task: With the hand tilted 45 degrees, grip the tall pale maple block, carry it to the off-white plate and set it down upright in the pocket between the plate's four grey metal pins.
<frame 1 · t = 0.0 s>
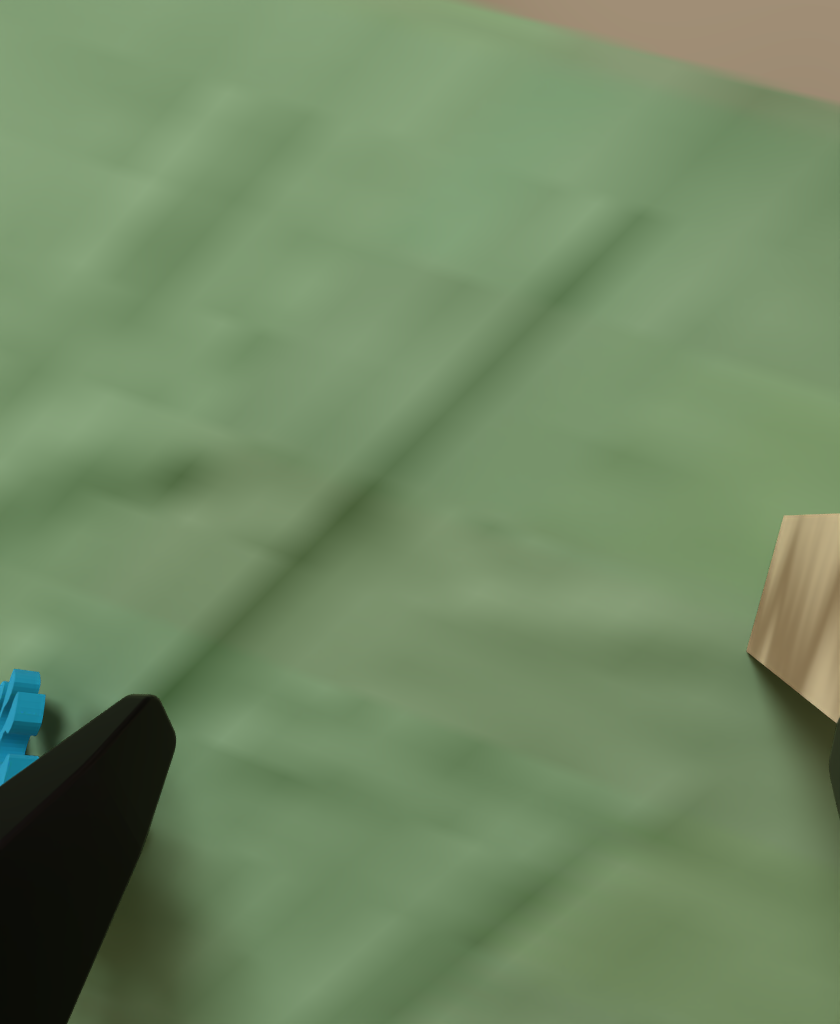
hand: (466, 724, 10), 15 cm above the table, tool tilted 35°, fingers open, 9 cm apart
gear: (63, 791, 28), on the table
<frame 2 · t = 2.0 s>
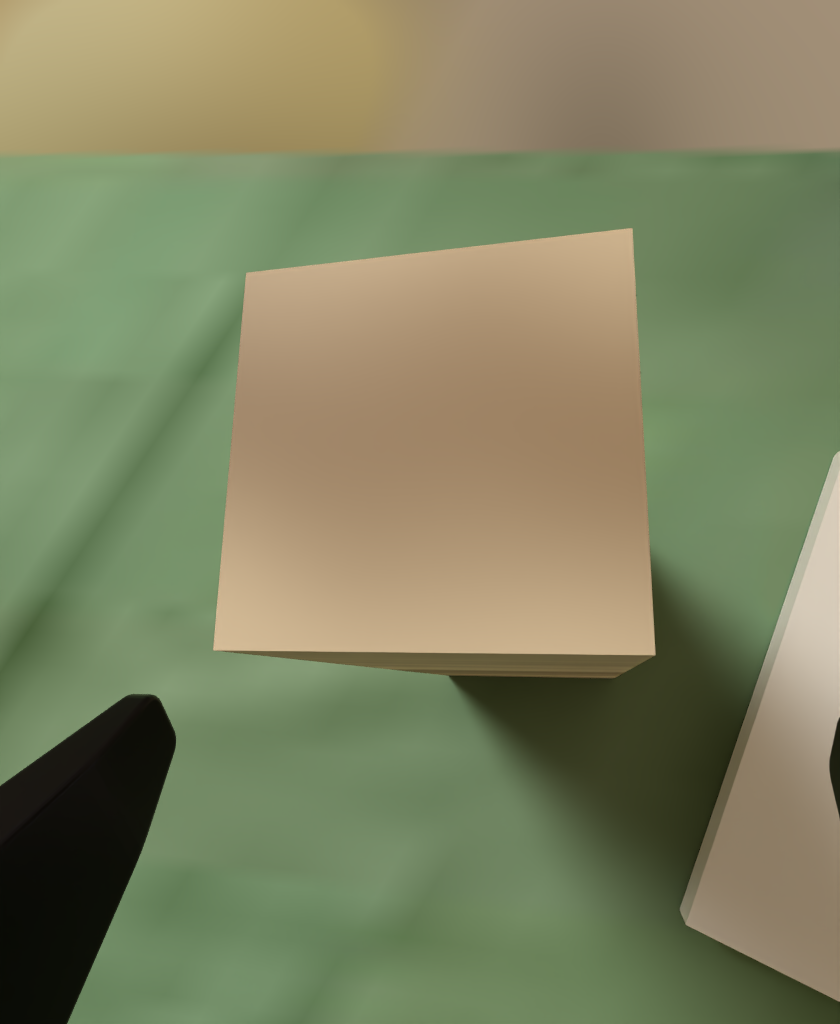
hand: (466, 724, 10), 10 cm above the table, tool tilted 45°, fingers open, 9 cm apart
maple block: (527, 594, 20), on the table
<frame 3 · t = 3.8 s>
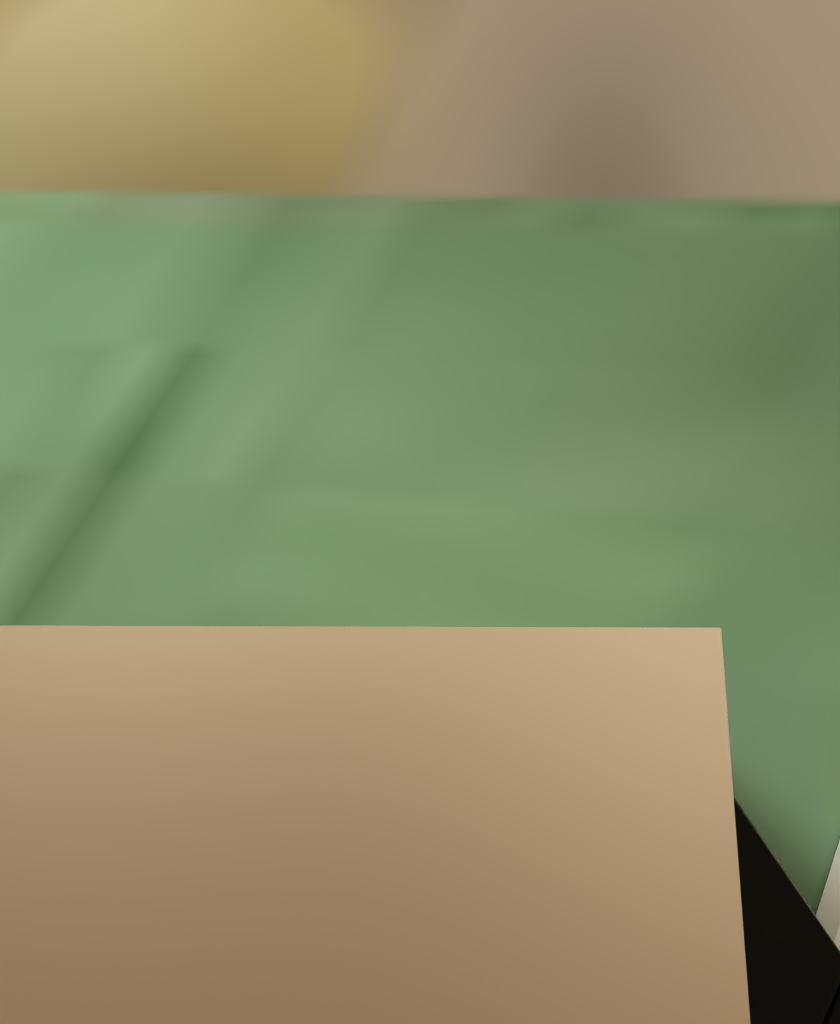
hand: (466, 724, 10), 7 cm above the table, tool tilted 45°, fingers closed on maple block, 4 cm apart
maple block: (516, 775, 16), on the table, touching gripper
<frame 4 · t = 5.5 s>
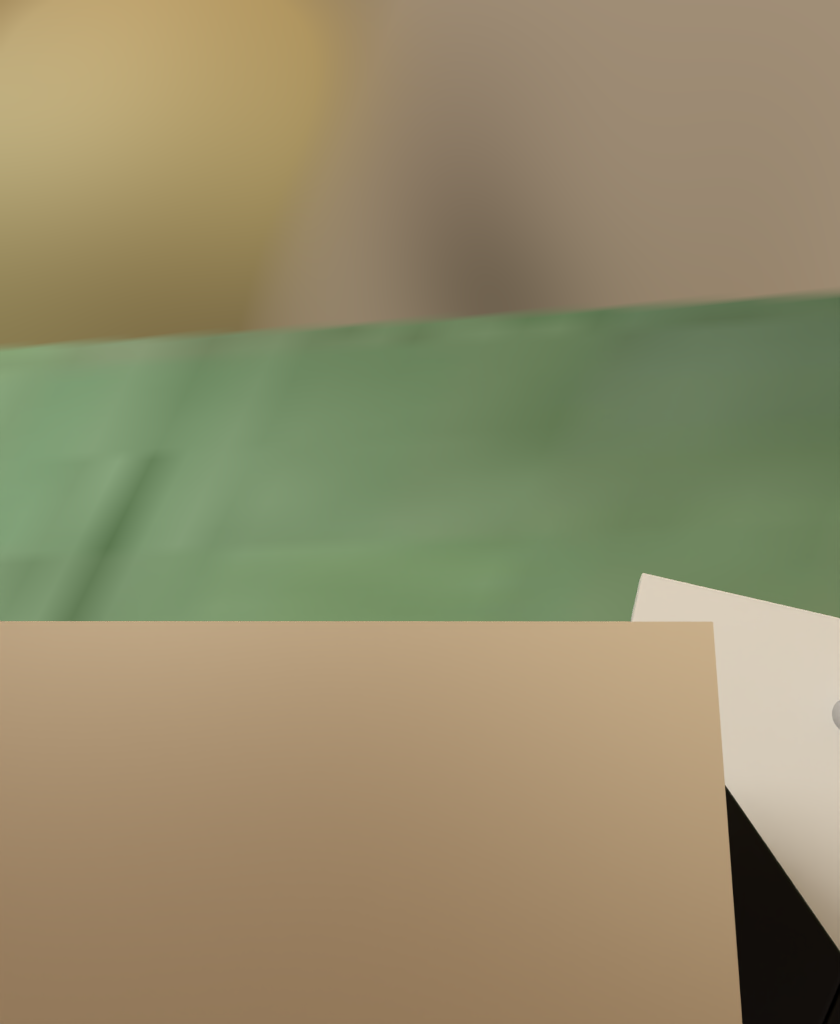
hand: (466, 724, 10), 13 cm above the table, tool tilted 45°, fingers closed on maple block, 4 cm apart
maple block: (515, 774, 16), point 7 cm above the table, touching gripper
pin plate: (816, 841, 20), on the table
when the fingers open (9 cm above the table, at t = 7.5 s): maple block drops 1 cm, resting on pin plate.
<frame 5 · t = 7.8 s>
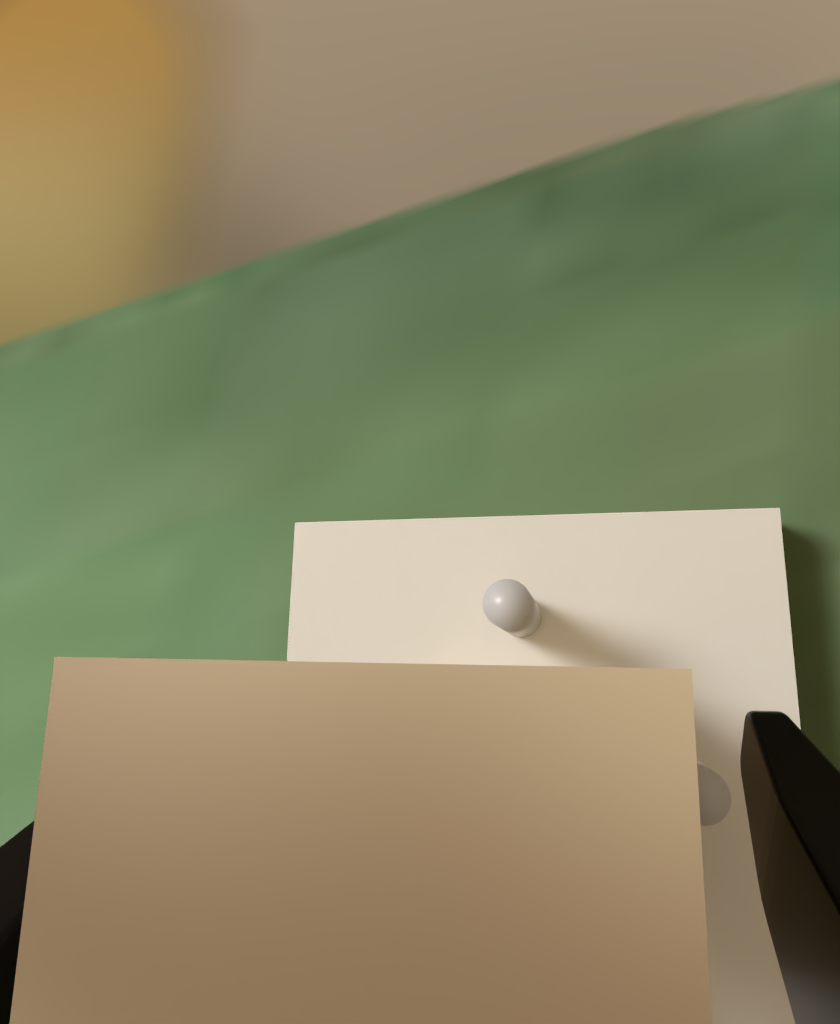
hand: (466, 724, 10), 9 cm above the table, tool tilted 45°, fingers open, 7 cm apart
maple block: (521, 765, 17), point 1 cm above the table, touching pin plate
pin plate: (526, 763, 18), on the table
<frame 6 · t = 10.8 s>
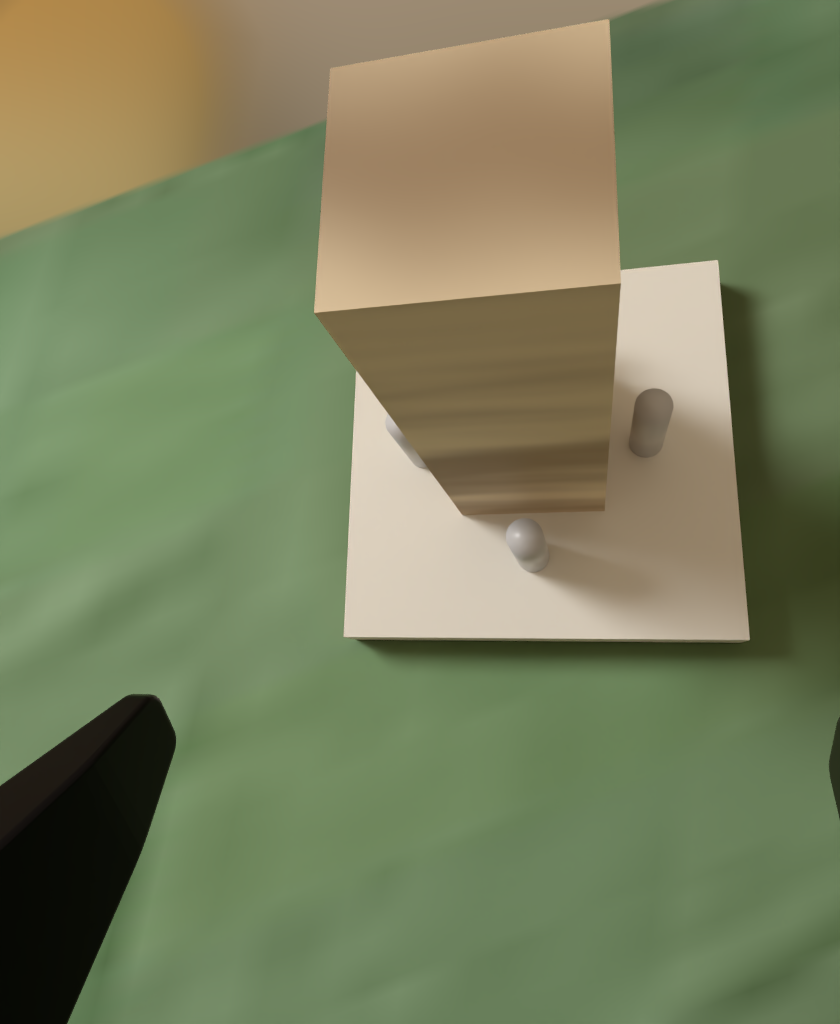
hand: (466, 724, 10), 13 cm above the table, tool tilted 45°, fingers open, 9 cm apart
maple block: (531, 446, 23), point 1 cm above the table, touching pin plate
pin plate: (534, 459, 24), on the table
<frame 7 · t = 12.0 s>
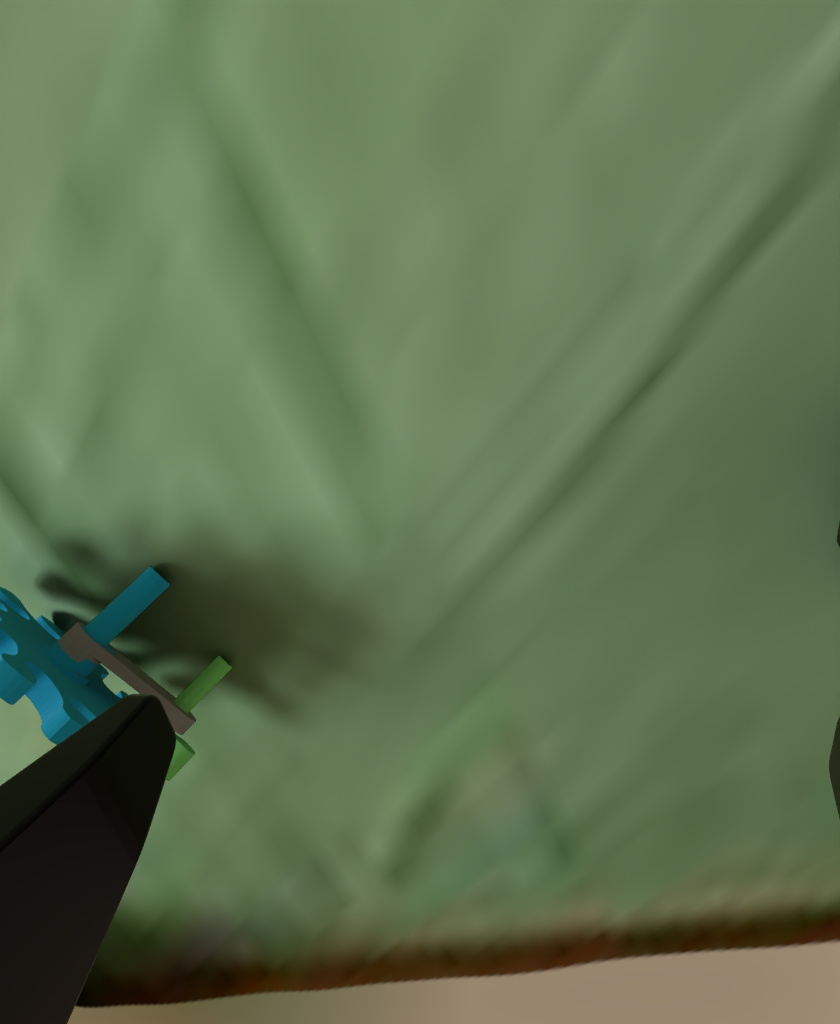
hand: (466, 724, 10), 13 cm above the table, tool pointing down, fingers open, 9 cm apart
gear: (126, 612, 29), on the table
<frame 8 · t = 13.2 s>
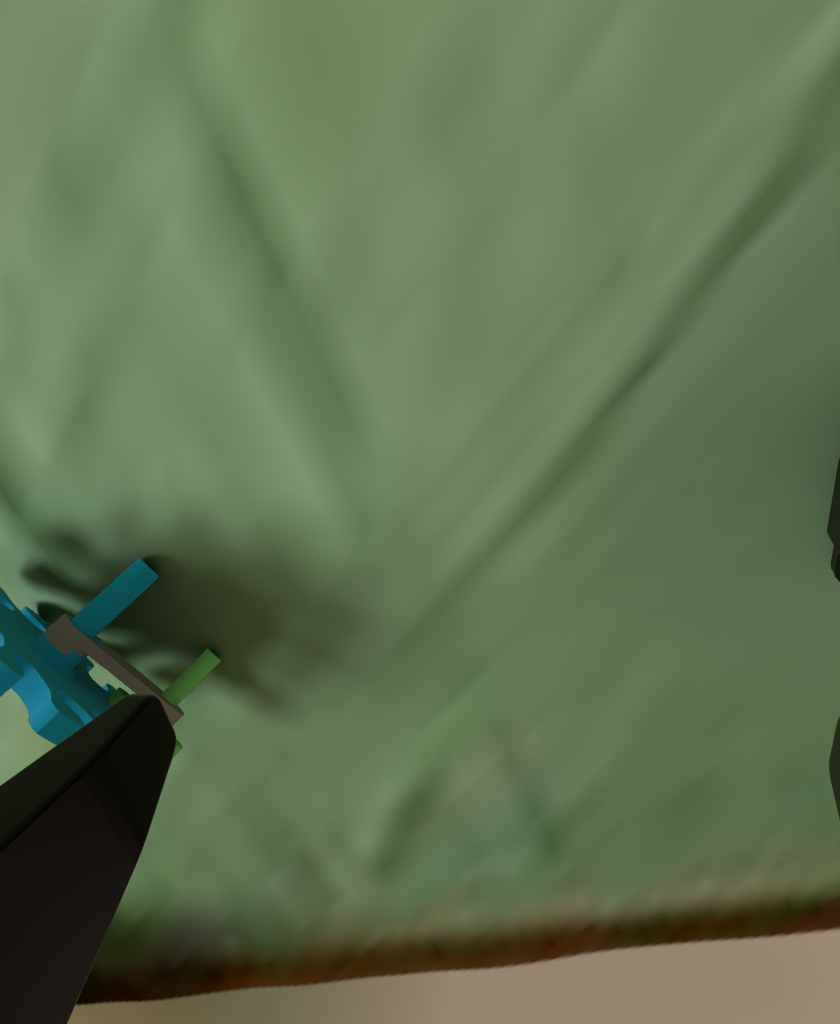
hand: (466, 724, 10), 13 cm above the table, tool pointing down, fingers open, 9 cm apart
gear: (113, 603, 29), on the table
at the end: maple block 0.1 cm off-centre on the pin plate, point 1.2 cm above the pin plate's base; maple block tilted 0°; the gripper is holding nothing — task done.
